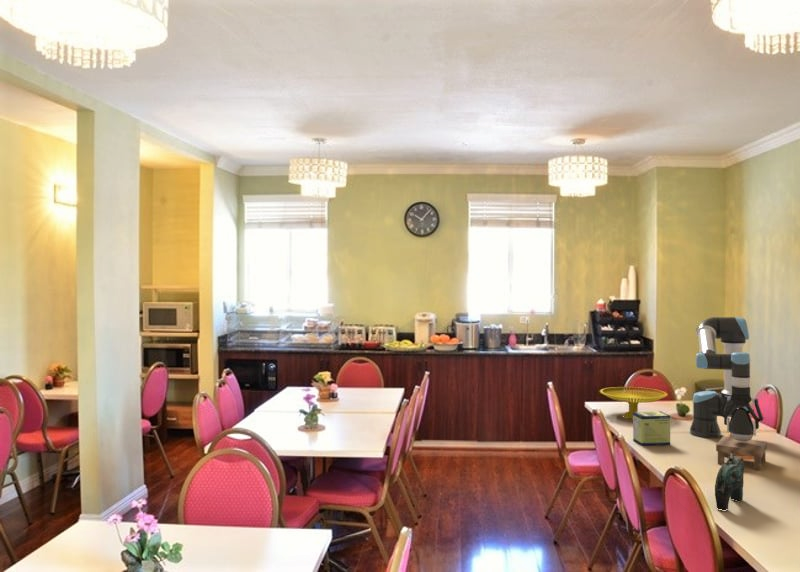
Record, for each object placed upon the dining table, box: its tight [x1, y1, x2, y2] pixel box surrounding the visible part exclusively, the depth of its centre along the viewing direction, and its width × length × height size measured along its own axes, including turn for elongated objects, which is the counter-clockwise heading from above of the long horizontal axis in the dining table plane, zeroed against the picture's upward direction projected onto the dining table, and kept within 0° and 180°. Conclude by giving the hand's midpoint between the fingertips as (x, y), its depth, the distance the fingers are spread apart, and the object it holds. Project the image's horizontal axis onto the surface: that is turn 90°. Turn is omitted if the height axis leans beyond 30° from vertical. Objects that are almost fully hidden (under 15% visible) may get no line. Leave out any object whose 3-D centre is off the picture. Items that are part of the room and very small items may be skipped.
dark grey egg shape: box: [729, 407, 755, 441], centre depth 274 cm, size 10×10×15 cm
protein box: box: [632, 410, 671, 447], centre depth 310 cm, size 10×16×16 cm
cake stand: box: [598, 386, 669, 419], centre depth 370 cm, size 40×40×15 cm
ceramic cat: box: [714, 451, 745, 510], centre depth 224 cm, size 20×6×20 cm, turn 131°
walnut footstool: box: [715, 435, 768, 472], centre depth 275 cm, size 18×18×9 cm
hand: (741, 433), depth 274 cm, fingers closed on dark grey egg shape, 10 cm apart
